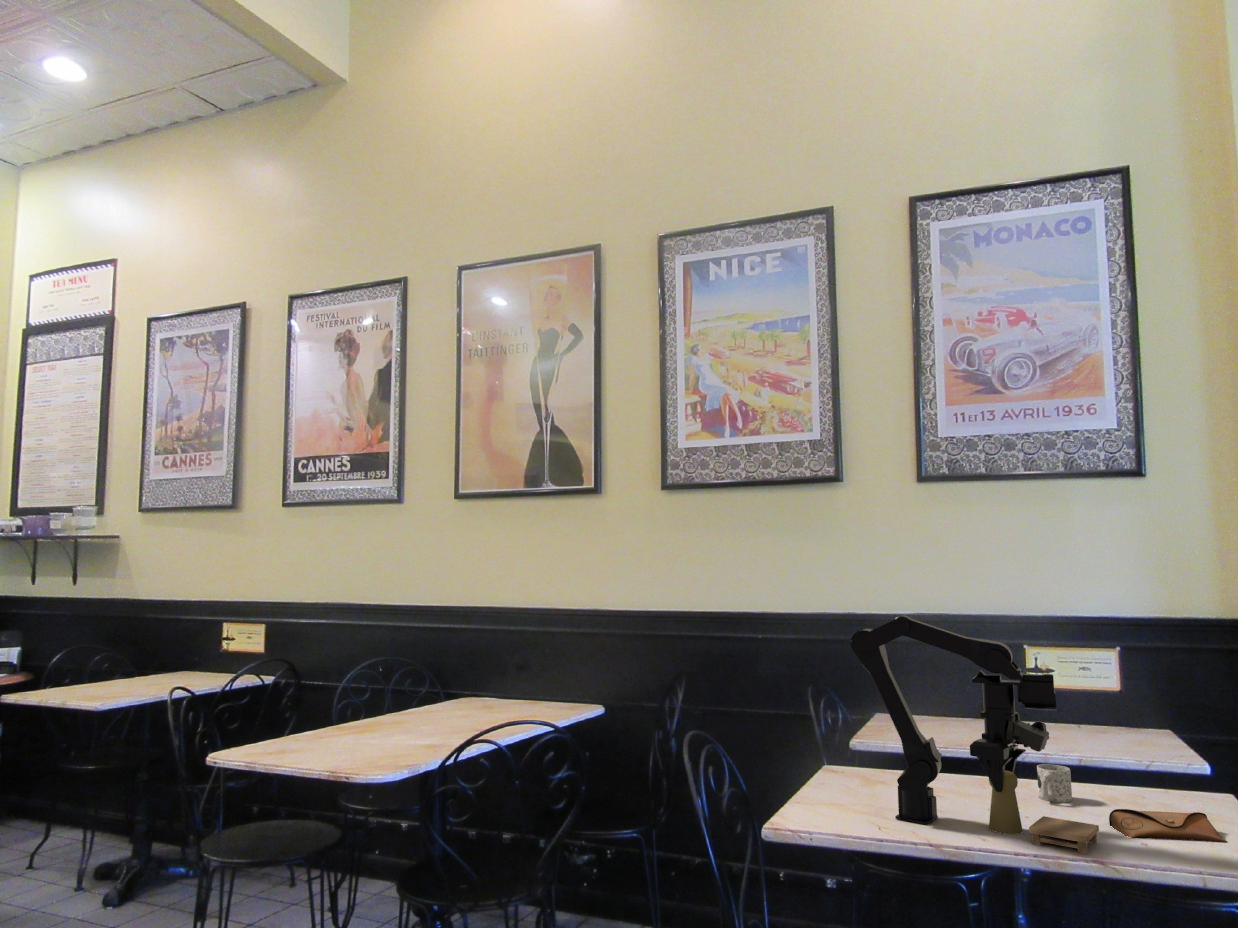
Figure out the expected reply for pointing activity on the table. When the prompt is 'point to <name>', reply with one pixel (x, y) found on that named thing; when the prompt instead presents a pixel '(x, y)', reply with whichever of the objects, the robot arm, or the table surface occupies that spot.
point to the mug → (1054, 783)
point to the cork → (1005, 807)
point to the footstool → (1064, 832)
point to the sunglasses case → (1164, 825)
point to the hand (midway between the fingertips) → (1003, 789)
